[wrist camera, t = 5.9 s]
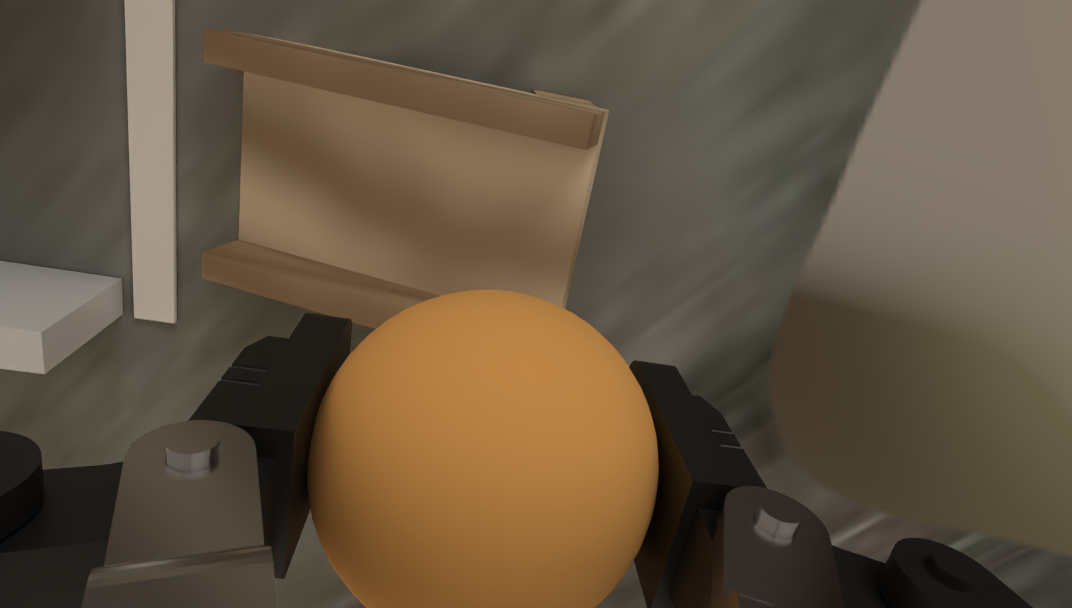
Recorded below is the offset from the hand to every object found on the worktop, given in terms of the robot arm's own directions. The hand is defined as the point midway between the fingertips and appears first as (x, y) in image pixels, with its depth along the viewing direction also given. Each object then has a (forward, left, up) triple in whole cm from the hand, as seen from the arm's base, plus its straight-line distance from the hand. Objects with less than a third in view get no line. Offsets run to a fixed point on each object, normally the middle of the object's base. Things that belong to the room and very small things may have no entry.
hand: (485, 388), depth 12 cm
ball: (0, 0, +2) cm, 2 cm away
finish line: (0, -12, -15) cm, 19 cm away
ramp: (0, -3, -15) cm, 15 cm away
